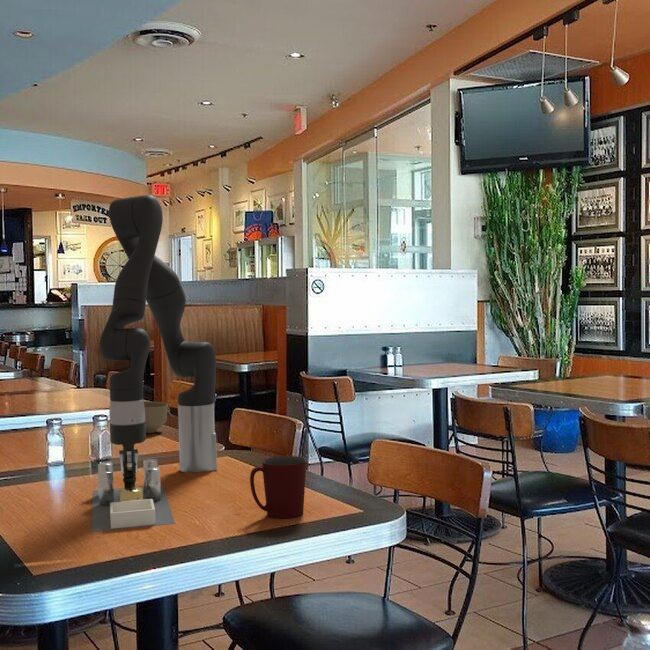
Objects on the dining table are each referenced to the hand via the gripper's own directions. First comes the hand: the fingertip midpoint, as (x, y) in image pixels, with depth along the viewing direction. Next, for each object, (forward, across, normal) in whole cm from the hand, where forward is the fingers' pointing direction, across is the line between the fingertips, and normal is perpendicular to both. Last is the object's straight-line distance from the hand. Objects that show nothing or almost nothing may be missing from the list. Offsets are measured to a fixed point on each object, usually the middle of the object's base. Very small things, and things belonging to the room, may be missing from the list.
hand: (130, 499), depth 176 cm
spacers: (+1, +5, 0) cm, 5 cm away
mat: (+1, -2, 0) cm, 3 cm away
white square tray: (+1, -14, 0) cm, 14 cm away
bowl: (+2, +94, -9) cm, 94 cm away
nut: (+1, -5, 0) cm, 5 cm away
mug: (+1, -18, -29) cm, 34 cm away
